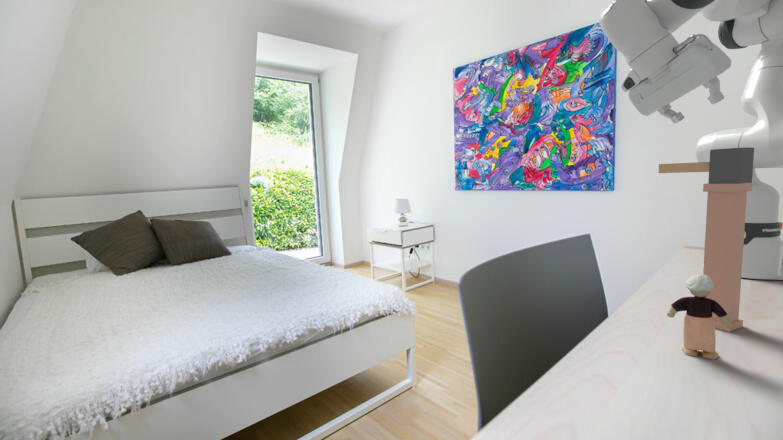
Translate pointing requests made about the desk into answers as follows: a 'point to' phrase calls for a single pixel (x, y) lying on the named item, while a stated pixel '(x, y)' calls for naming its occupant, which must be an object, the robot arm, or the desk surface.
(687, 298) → the grandmother figurine
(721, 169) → the mallet
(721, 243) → the stand
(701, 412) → the desk surface
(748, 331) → the desk surface
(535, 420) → the desk surface
